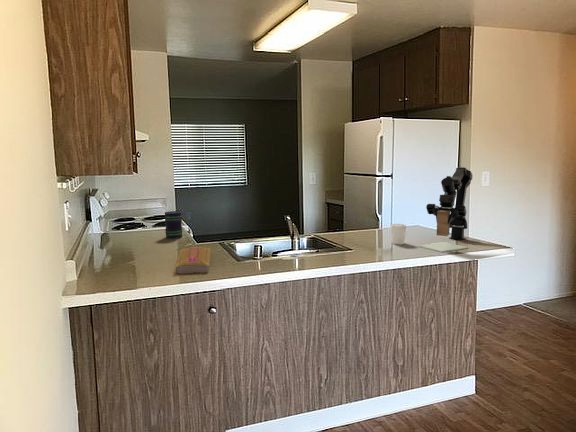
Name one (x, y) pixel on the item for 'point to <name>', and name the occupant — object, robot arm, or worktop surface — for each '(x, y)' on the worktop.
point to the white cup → (398, 233)
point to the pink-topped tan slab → (193, 260)
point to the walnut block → (443, 223)
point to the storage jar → (173, 224)
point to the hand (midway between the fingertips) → (442, 223)
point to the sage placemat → (442, 247)
